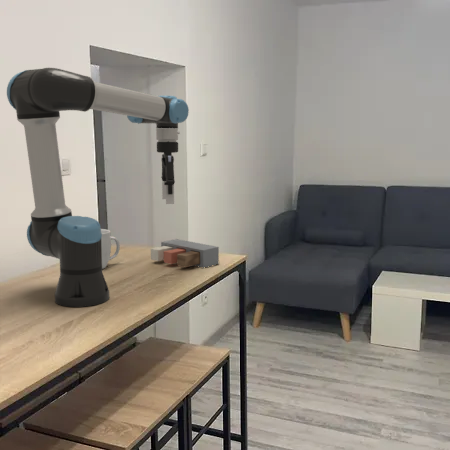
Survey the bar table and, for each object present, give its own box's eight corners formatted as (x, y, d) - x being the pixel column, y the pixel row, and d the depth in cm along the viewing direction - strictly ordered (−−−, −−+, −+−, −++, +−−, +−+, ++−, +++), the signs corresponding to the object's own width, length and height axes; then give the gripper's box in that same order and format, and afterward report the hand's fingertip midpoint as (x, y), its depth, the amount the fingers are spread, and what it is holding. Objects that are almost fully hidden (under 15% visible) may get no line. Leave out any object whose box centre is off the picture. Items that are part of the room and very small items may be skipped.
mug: (112, 261, 206) (111, 226, 204) (127, 266, 198) (126, 230, 196) (74, 267, 197) (73, 230, 195) (88, 273, 189) (87, 235, 186)
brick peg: (171, 264, 197) (171, 253, 196) (163, 262, 199) (163, 251, 199) (189, 259, 203) (189, 249, 203) (181, 258, 206) (181, 247, 205)
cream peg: (158, 261, 201) (158, 250, 201) (150, 259, 204) (150, 248, 203) (176, 256, 208) (176, 246, 207) (168, 255, 210) (168, 245, 210)
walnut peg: (185, 267, 192) (185, 256, 191) (177, 265, 195) (177, 254, 194) (203, 262, 199) (203, 251, 198) (195, 261, 201) (195, 250, 201)
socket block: (203, 268, 196) (203, 250, 195) (161, 258, 211) (161, 241, 209) (218, 264, 202) (218, 246, 201) (176, 255, 216) (176, 238, 215)
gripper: (182, 141, 182) (182, 205, 186) (174, 140, 207) (174, 197, 210) (159, 141, 181) (160, 206, 184) (153, 140, 205) (154, 197, 209)
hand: (168, 201), depth 197 cm, fingers open, 13 cm apart
